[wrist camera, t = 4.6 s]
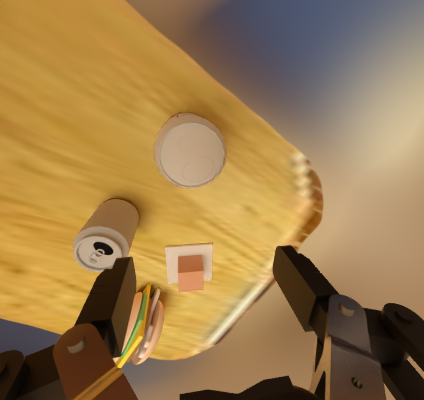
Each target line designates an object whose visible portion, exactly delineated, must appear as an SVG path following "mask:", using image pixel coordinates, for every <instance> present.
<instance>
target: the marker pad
mask: <svg viewBox="0 0 424 400" xmlns="http://www.w3.org/2000/svg"><path fill="white" fill-rule="evenodd" d="M212 251H213V244H212V243H204V244H190V245H176V246H165V252H166V264H167V276H168V284H172V283H178V256H190V255H201V257H202V264H203V270H204V280H212Z"/></svg>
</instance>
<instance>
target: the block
mask: <svg viewBox="0 0 424 400" xmlns="http://www.w3.org/2000/svg"><path fill="white" fill-rule="evenodd" d="M178 285H179V292H186V291H196V290H203V288H204V270H203V264H202V257H201V255H190V256H178Z"/></svg>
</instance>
